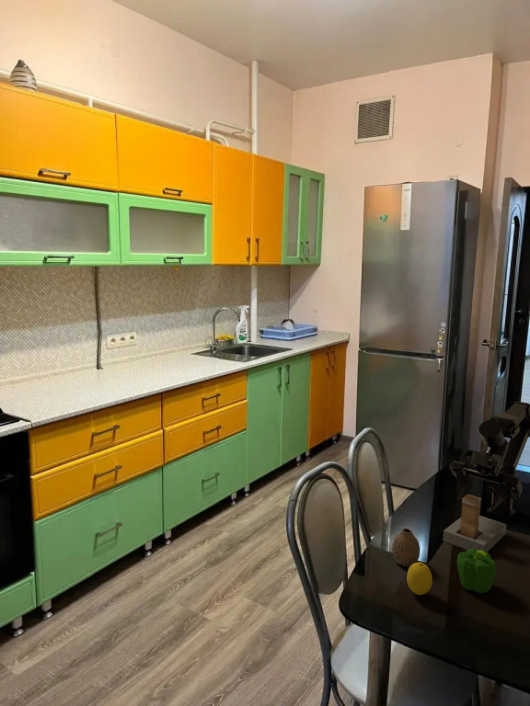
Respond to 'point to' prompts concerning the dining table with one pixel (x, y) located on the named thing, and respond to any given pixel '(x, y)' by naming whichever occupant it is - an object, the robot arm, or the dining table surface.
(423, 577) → the lemon
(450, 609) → the dining table surface
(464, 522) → the wooden square peg
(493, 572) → the bell pepper
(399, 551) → the vase
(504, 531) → the block with square hole
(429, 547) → the dining table surface
